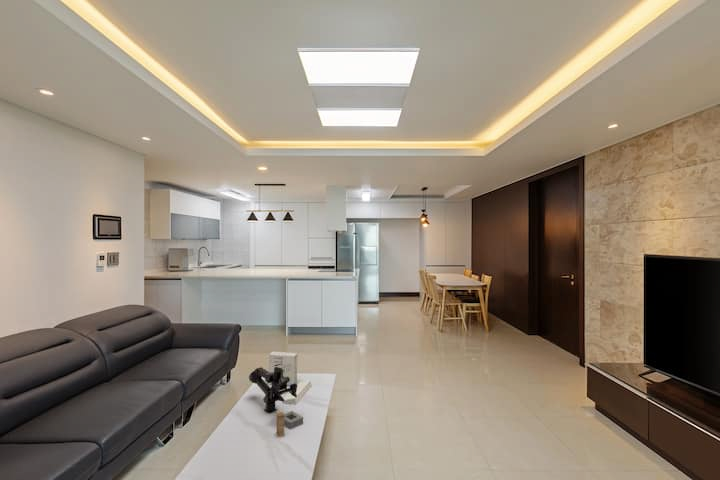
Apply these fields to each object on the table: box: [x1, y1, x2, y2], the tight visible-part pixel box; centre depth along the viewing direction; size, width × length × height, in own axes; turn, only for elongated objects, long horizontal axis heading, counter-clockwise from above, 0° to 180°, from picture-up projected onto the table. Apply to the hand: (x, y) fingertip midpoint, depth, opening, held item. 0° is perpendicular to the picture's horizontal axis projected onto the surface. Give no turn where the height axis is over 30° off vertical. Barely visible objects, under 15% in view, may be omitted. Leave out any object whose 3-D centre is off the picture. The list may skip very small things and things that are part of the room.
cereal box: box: [268, 351, 298, 387], centre depth 287 cm, size 22×8×25 cm, turn 81°
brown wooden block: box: [276, 411, 285, 438], centre depth 211 cm, size 5×4×12 cm
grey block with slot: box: [284, 410, 304, 430], centre depth 225 cm, size 12×10×4 cm
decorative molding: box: [281, 380, 313, 406], centre depth 268 cm, size 34×5×10 cm
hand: (290, 398), depth 223 cm, fingers open, 9 cm apart
